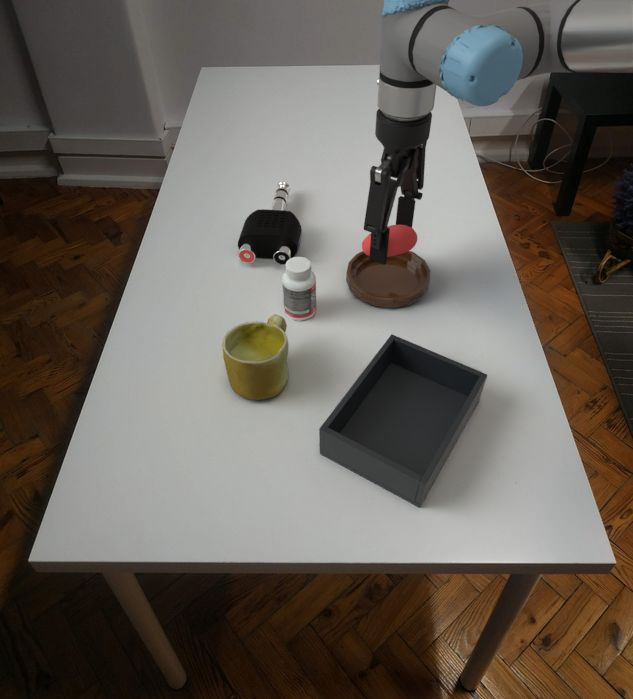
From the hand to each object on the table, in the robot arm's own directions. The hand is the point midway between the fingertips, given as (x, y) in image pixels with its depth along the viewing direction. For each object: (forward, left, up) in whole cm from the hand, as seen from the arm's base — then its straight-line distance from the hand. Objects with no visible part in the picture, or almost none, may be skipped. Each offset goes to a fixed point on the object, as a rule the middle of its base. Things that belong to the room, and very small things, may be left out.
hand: (390, 246), depth 92 cm
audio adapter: (+26, -3, -8) cm, 27 cm away
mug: (+6, +28, -8) cm, 30 cm away
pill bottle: (+9, +14, -8) cm, 18 cm away
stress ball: (0, 0, -1) cm, 1 cm away
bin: (-16, +26, -8) cm, 31 cm away
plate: (0, 0, -8) cm, 8 cm away
